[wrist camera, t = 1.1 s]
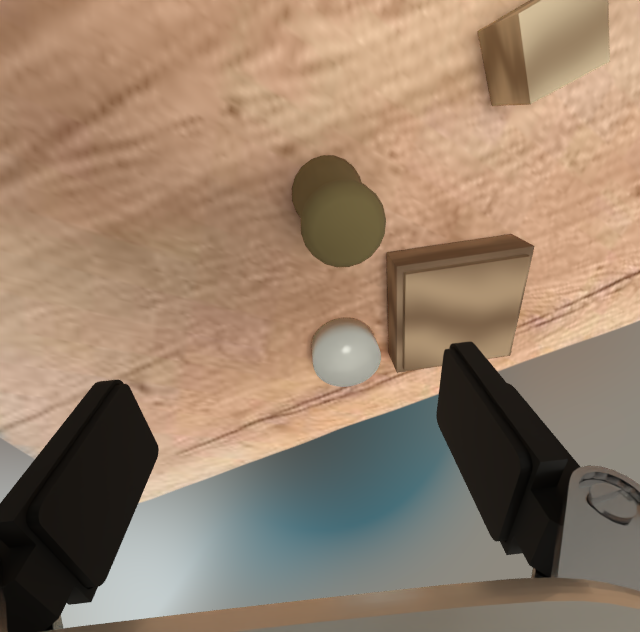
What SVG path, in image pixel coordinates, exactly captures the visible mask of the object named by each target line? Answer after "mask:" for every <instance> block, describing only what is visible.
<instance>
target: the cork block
mask: <svg viewBox="0 0 640 632" xmlns="http://www.w3.org/2000/svg"><path fill="white" fill-rule="evenodd" d="M478 36H479V41H480V47H481V52H482V57H483V62H484V68H485V73H486V78H487V84H488V89H489V94H490V99H491V105H492V106H501V105H527V104H532V103H534V102H536V101H538V100H540V99H542V98H543V97H545V96H547V95H549V94H551V93H553V92H555V91H557V90H558V89H560V88H562V87H564V86H566V85H568V84H570V83H571V82H573V81H575V80H577V79H579V78H581V77H583V76H585V75H586V74H588V73H590V72H592V71H594V70H596V69H598V68H599V67H601V66H603V65H605V64H607V63H609V62H610V52H609V8H608V0H530V1H528V2H527V3H525V4H523V5H521V6H520V7H518V8H516V9H515V10H513V11H511V12H510V13H508V14H506V15H505V16H503V17H501V18H499V19H498V20H496V21H494V22H493V23H491V24H489V25H488V26H486V27H484V28H482V29H481V30H479V31H478Z"/></svg>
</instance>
